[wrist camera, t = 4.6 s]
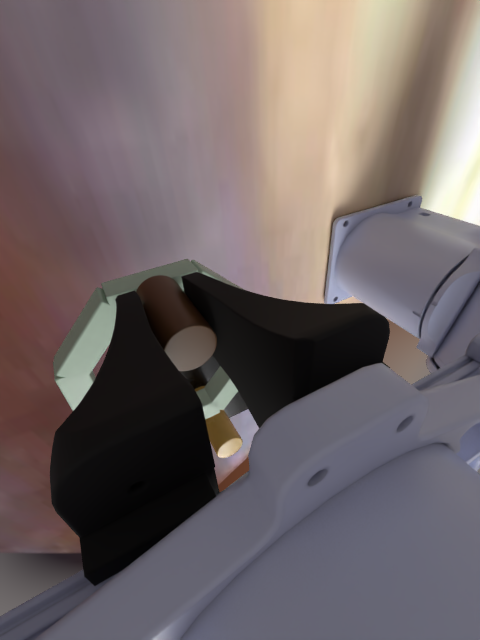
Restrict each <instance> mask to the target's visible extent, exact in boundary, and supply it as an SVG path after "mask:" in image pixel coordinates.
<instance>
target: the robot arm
mask: <svg viewBox="0 0 480 640" xmlns="http://www.w3.org/2000/svg"><path fill="white" fill-rule="evenodd" d="M421 202H422V197H421V196H420V195H414V196H411V197H407V198H404V199H401V200H397V201H394V202H390V203H387V204H383V205H380V206H376V207H373V208H369V209H366V210H363V211H359V212H356V213H352V214H349V215H345V216H342V217H338V218H337V219H336V220H335V221H334V223H333V228H332V237H331V246H330V254H329V263H328V272H327V281H326V290H325V299H324V303H325V304H318V303H304V302H296V301H288V300H282V299H277V298H272V297H268V296H263V295H259V294H256V293H252V292H249V291H246V290H243V289H240V288H237V287H234V286H232V285H229V284H226V283H224V282H221V281H219V280H216V279H214V278H211V277H209V276H207V275H204V274H201V273H198V272H195V273H191V274H188V275H185V276H181V277H182V283H183V288H184V292H185V294H186V295H187V296H188V298H189V299H190V300H191V302H192V303H193V304H194V305H195V307H196V308H197V309H198V311H199V312H200V313H201V315H202V316H203V317H204V319H205V320H206V321H207V322H208V324H209V325H210V326H211V328H212V329H213V330H214V332H215V334H216V337H217V345H216V349H215V351H214V353H213V355H212V356H213V357H214V358H215V359H216V361H217V362H218V363H219V365H220V366H221V367H222V369H223V370H224V371H225V373H226V374H227V375H228V376H229V378H230V379H231V381H232V382H233V384H234V385H235V387H236V388H237V390H238V392H239V394H240V395H241V397H242V399H243V400H244V402H245V404H246V405H247V407H248V409H249V411H250V412H251V414H252V416H253V418H254V420H255V421H256V423H257V425H258V427H259V430H258V431H257V432H256V433H255V435H254V437H253V441H252V444H251V448H250V451H249V455H248V456H249V467H250V470H249V471H248V472H247V473H245V474H244V475H243V476H241V477H240V478H239V479H238V480H236V481H235V482H234V483H233V484H231V485H230V486H229V487H227V488H226V489H225V490H223V491H222V492H220V493H219V489H218V484H217V479H216V474H215V470H214V467H215V464H214V459H213V454H212V449H211V444H210V440H209V435H208V430H207V425H206V420H205V416H204V411H203V406H202V403H201V400H200V398H199V397H198V395H197V393H196V391H195V389H194V388H193V386H192V385H191V384H190V383H189V382H188V381H187V380H186V378H185V377H184V376H183V375H182V374H181V372H180V371H179V370H178V369H177V368H176V366H175V365H174V364H173V362H172V361H171V360H170V358H169V357H168V355H167V354H166V352H165V351H164V349H163V348H162V346H161V345H160V343H159V342H158V340H157V338H156V337H155V335H154V333H153V332H152V330H151V327H150V325H149V322H148V319H147V316H146V313H145V311H144V308H143V305H142V302H141V299H140V297H139V295H138V294H137V293H136V291H132V292H128V293H125V294H122V295H118V296H117V297H116V299H115V301H116V319H115V326H114V331H113V335H112V339H111V343H110V346H109V349H108V352H107V355H106V357H105V360H104V362H103V364H102V366H101V368H100V370H99V372H98V374H97V376H96V378H95V380H94V382H93V384H92V385H91V387H90V388H89V390H88V391H87V393H86V395H85V396H84V398H83V399H82V401H81V402H80V403H79V405H78V406H77V407H76V409H75V410H74V411H73V412H72V413H71V414H70V416H69V417H68V418H67V419H66V420H65V422H64V423H63V424H62V425H61V426H60V427H59V428H58V429H57V431H56V432H55V436H54V442H53V448H52V456H51V465H50V484H51V498H52V505H53V507H54V509H55V511H56V512H57V514H58V515H59V516H60V517H61V518H62V519H63V520H64V521H65V522H66V523H67V524H68V526H69V527H70V528H71V529H72V530H73V531H74V532H75V533H76V534H77V535H78V536H79V537H80V544H81V553H82V561H83V570H82V571H80V572H78V573H76V574H74V575H73V576H71V577H69V578H67V579H65V580H64V581H62V582H60V583H59V584H57V585H55V586H53V587H52V588H49V589H48V590H46V591H44V592H42V593H41V594H39V595H37V596H35V597H34V598H32V599H30V600H28V601H26V602H25V603H23V604H21V605H19V606H18V607H16V608H14V609H12V610H10V611H9V612H7V613H5V614H3V615H2V616H0V640H480V474H479V473H478V472H477V470H479V469H480V226H478V225H475V224H471V223H468V222H465V221H462V220H458V219H455V218H452V217H449V216H445V215H442V214H439V213H436V212H432V211H429V210H426V209H423V208H420V206H421ZM344 222H345V223H344ZM352 296H353V297H355V298H356V299H358V300H359V301H361V302H363V303H352V304H335V303H337V302H339V301H342V300H344V299H347V298H349V297H352ZM386 318H388V319H389V320H391V321H392V322H394V323H395V324H397V325H398V326H400V327H402V328H403V329H405V330H406V331H408V332H410V333H411V334H413V335H414V336H416V337H417V338H419V339H420V341H419V343H418V345H417V348H418V349H419V350H421V351H422V352H424V353H426V354H427V355H428V357H427V359H426V365H427V368H428V369H429V371H430V373H431V374H429V375H427V376H426V377H424V378H422V379H420V380H418V381H417V382H415V383H413V384H410V383H408V382H407V381H406V380H404V379H403V378H402V377H401V376H399V375H398V374H396V373H395V372H394V371H393V370H392V369H390V367H388V366H387V365H386V364H384V363H383V362H382V361H383V358H384V354H385V350H386V347H387V343H388V340H389V334H390V329H389V322H388V321H387V319H386Z"/></svg>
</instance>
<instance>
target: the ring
mask: <svg viewBox="0 0 480 640" xmlns="http://www.w3.org/2000/svg"><path fill="white" fill-rule="evenodd" d="M195 272H198V273H201V274H204V275H207V276H209V277H211V278H214V279H216V280H219V281H221V282H224V283H226V284H229V285H232V286H234V287H237V288H240V287H239V286H237V285H235V284H234V283H232V282H230V281H229V280H227V279H225V278H223V277H222V276H220V275H218V274H217V273H215V272H213V271H212V270H210V269H208V268H207V267H205V266H203V265H201V264H200V263H198V262H196V261H195V260H191V262H190V261H189V260H188V259H185V260H181V261H178V262H174V263H171V264H167V265H164V266H160V267H156V268H153V269H149V270H146V271H142V272H139V273H135V274H132V275H128V276H125V277H121V278H118V279H114V280H111V281H107V282H104V283H102V284H101V285H102V288H103V289H101V288H98V287H97V288H96V289H95V291H94V292H93V294H92V296H91V297H90V299H89V301H88V302H87V304H86V306H85V307H84V309H83V310H82V312H81V314H80V315H79V317H78V319H77V320H76V322H75V324H74V325H73V327H72V328H71V330H70V332H69V333H68V335H67V337H66V338H65V340H64V342H63V343H62V345H61V346H60V348H59V350H58V351H57V353H56V355H55V356H54V362H53V366H54V376H55V381H56V383H57V385H58V386H59V388H60V390H61V392H62V393H63V395H64V397H65V398H66V400H67V402H68V403H69V405H70V407H71V408H72V410H73V411H74V410H75V409H76V407H77V406H78V405H79V403H80V402H81V401H82V399H83V398H84V396H85V395H86V393H87V391H88V390H89V388H90V387H91V385H92V384H93V382H94V380H95V378H96V377H95V375H94V373H93V371H92V370H93V369H94V367H95V365H96V364H97V362H98V361H99V359H100V358H101V356H102V355H103V353H104V352H105V350H106V348H107V347H108V345H109V344H110V342H111V339H112V335H113V331H114V326H115V319H116V301H115V299H116V297H117V296H118V295H122V294H125V293H128V292H132V291H136V293H137V294H138V295H139V297H140V299H141V302H142V305H143V308H144V311H145V313H146V316H147V319H148V322H149V325H150V327H151V330H152V332H153V333H154V335H155V337H156V338H157V340H158V342H159V343H160V345H161V346H162V348H163V349H164V351H165V352H166V354H167V355H168V357H169V358H170V360H171V361H172V362H173V364H174V365H175V366H176V368H177V369H178V370H179V371H189V370H193V369H195V368H198V367H199V366H201V365H203V364H204V363H205V362H206V361H208V360H209V359H210V357H211V356H212V355H213V353H214V351H215V349H216V345H217V337H216V334H215V332H214V330H213V329H212V328H211V326H210V325H209V324H208V322H207V321H206V320H205V319H204V317H203V316H202V315H201V313H200V312H199V311H198V309H197V308H196V307H195V305H194V304H193V303H192V302H191V300H190V299H189V298H188V296H187V295H186V294H185V292H184V288H183V283H182V277H181V276H185V275H188V274H191V273H195ZM240 289H242V288H240ZM243 290H244V289H243ZM237 392H238V390H237V388H236V387H235V385H234V384H233V382H232V381H231V379H230V378H229V376H228V375H227V374H226V373H225V371H224V370H223V369H222V367H221V366H220V367H219V368H218V370H217V371H216V372H215V374H214V375H213V376H212V378H211V379H210V381H209V382H208V383H207V385H206V386H205V387H204V388H203V389H201V390H199V391H196V393H197V395H198V397H199V398H200V400H201V403H202V406H203V411H204V416H205V419H207V418H210V417H212V416H214V415H216V414H218V413H220V410H224V409H225V407H226V406H227V405H228V404H229V402H230V401H231V400H232V398H233V397H234V396H235V394H236V393H237Z"/></svg>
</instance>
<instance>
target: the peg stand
mask: <svg viewBox="0 0 480 640" xmlns="http://www.w3.org/2000/svg"><path fill="white" fill-rule="evenodd" d="M219 367H220V365H219V363H218V362H217V361H216V359H215V358H214V357H213V356H211V357H210V359H209V360H208V361H206V362H205V363H204V364H203V365H201V366H199V367H198V368H195V369H193V370H189V371H180V372H181V374H182V375H183V376H184V377H185V378H186V380H187V381H188V382H189V383H190V384H191V385H192V386H193V388H194V389H195V391H199V390H201V389H203V388H204V387H205V386H206V385H207V383H208V382H209V381H210V379H211V378H212V376H213V375H214V374H215V372H216V371H217V370H218V368H219ZM247 409H248V407H247V405H246V404H245V402H244V400H243V399H242V397H241V395H240V394H239V392H237V393H236V394H235V396H234V397H233V398H232V400H231V401H230V402H229V404H228V405H227V406H226V407H225V409H224V410H220V413H218V414H216V415H214V416H212V417H210V418H207V419H205V420H206V425H207V430H208V435H209V440H210V442H211V444H212V446H213V448H214V450H215V452H216V454H217V456H218V457H220V458H227V457H230V456H232V455H233V454H235V453H236V452H237V451H238V450H239V449H240V448H241V446H242V439H241V437H240V435H239V434H238V432H237V431H236V429H235V427H234V426H233V424H232V422H231V421H230V419H229V418H230V417H232V416H234V415H236V414H238V413H240V412H243V411H245V410H247Z"/></svg>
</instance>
